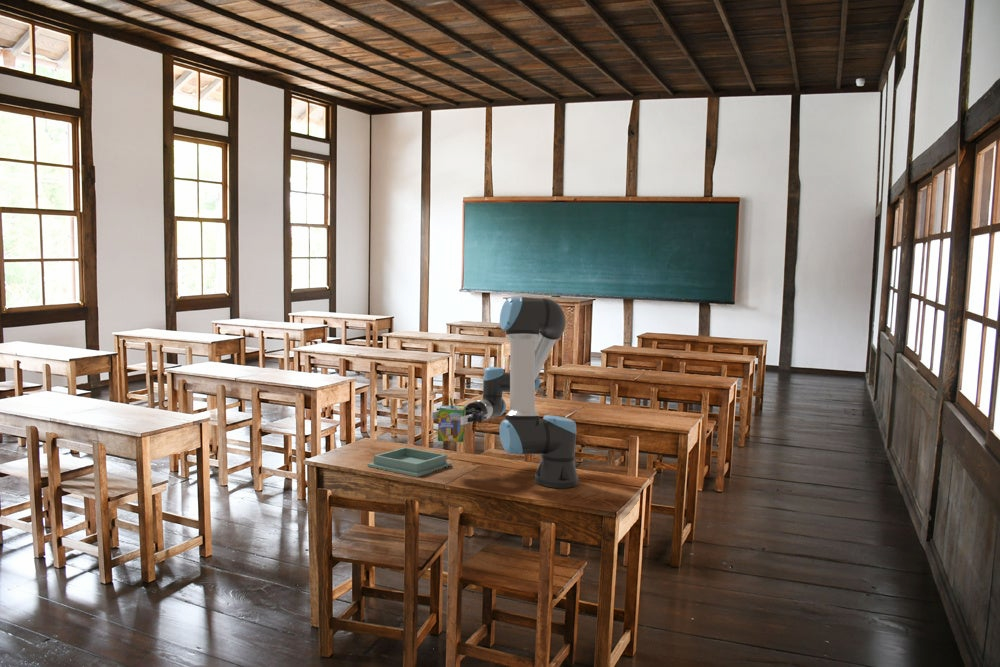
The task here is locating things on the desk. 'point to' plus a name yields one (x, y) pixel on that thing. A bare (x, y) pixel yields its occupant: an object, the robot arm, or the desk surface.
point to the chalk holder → (410, 461)
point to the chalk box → (451, 423)
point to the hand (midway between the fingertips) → (446, 418)
